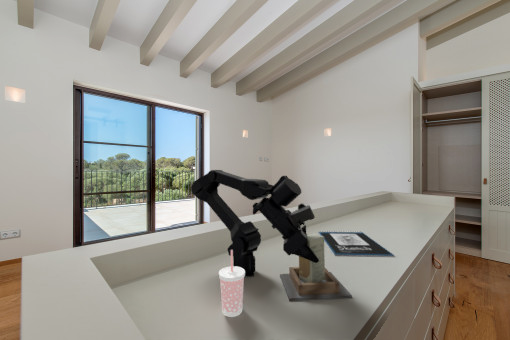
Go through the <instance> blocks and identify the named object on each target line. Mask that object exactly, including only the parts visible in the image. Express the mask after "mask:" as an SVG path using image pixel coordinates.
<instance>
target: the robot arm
mask: <svg viewBox="0 0 510 340" xmlns="http://www.w3.org/2000/svg"><path fill="white" fill-rule="evenodd" d="M220 185H223V186H225V187H228V188H231V189H233V190H237V191H238V192H240V194H241V196H244V197H245V198H247V200H250V201H256V200H259V199H261V200H260V201H259V202H254V203H253V205H252V215H256V214H257V213H258V212H259V213H261V215H262V216H263V217H264V218H266V220H267V221H268V222H269V223H270V224H271V228H272V229H273V230H275V229H276V230H277V231H278V232H279V233H280V235H282V237H281V238H282V239H283V247H282V248H283V252H285V253H286V254H287V256H290V255H295V256H298V257H299V256H300V257H303V258H305V259H307V260H310V261H312V262H315V263H317V262H318V261H319V259H318V258H317V256H316V255H315V253H314V252H313V250H312V249H311V248H310V246H309V245H308V237H307V235H308V234H307V225H306V223H305V222H308V221H312V220H313V219H315V217H316V216H315V213H314V212H313V209H312V208H311V205H310V204H307V205H306V204H304V203H303V202H301V203H300V204H298V205H297V209H295V210H294V211H291V210H290V209H286V208H284V207H288V206H289V205H290V204H291V203H292V202H293V201H294V200H295V199H296V198H298V197H299V196H300V195H301V194H302V189H301V187H300V185H299V184H298V183H297V182H295V181H294V180H293V179H291V178H289V177H288V176H287V175H282V176H281V177H279V179H278V181H276V183H274V185H273V184H270V183H269V181H268V180H266V179H259V178H258V179H257V178H245V177H242V176H239V175H236V174H234V173H233V174H232V173H229V172H226V171H224V170H222V169H211V170H210V171H208V172H207V173H206V174H204V175H202V176H200V177H199V178H197V179H196V180H194V181H193V182H192V184H191V186H190V189H191V192H192V194H193V196H194V197H196V199H198V200H199V201H203V202H204V203H206V204H207V205H208V206H209V207H210V209H211V210H212V211H213V212H214V214H215V215H216V216H217V217H218V218H219V220H220V221H221V222H222V223H223V225H225V227H226V229H227V230H228V231H229V232H230V240H231V242H232V243H231V244H230V245H229V246H228V247H227V252H228V255H229V256H230V257H231V250H233V266H238V267H241V268H243V269H244V270H245V276H244V278H245V277H246V278H247V277H255V272H256V257H255V255H254V252H256V251H258V248H259V246H260V245H261V241H262V239H261V237H262V235H261V233H260V232H259V228H257V227H256V226H255V225H254V224H253V222H252V221H250V220H249V221H246V222H244V221H242V220H241V218H240V217H239V216H238V215H237V214H236V213H235V212H234V211H233V209H232V208H231V207H230V206H229V205H228V204H227V202H225V200H224V199H223V198H222V197H221V196H220V195H219V189H218V188H219V187H220ZM268 196H269V197H268ZM302 225H303V226H302Z"/></svg>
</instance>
